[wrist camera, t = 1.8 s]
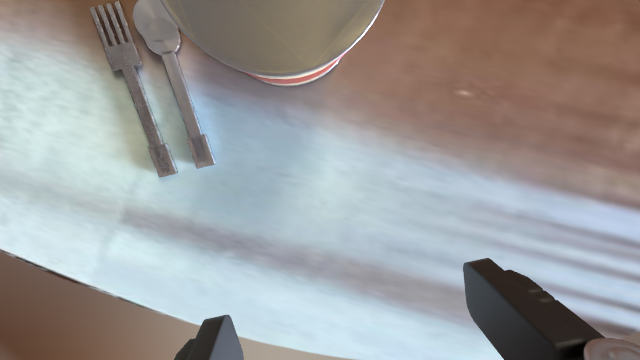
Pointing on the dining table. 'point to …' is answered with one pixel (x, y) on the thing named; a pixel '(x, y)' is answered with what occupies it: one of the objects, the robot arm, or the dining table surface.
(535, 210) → the dining table surface
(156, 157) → the fork
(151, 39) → the spoon
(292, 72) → the coffee tin
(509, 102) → the dining table surface
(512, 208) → the dining table surface
